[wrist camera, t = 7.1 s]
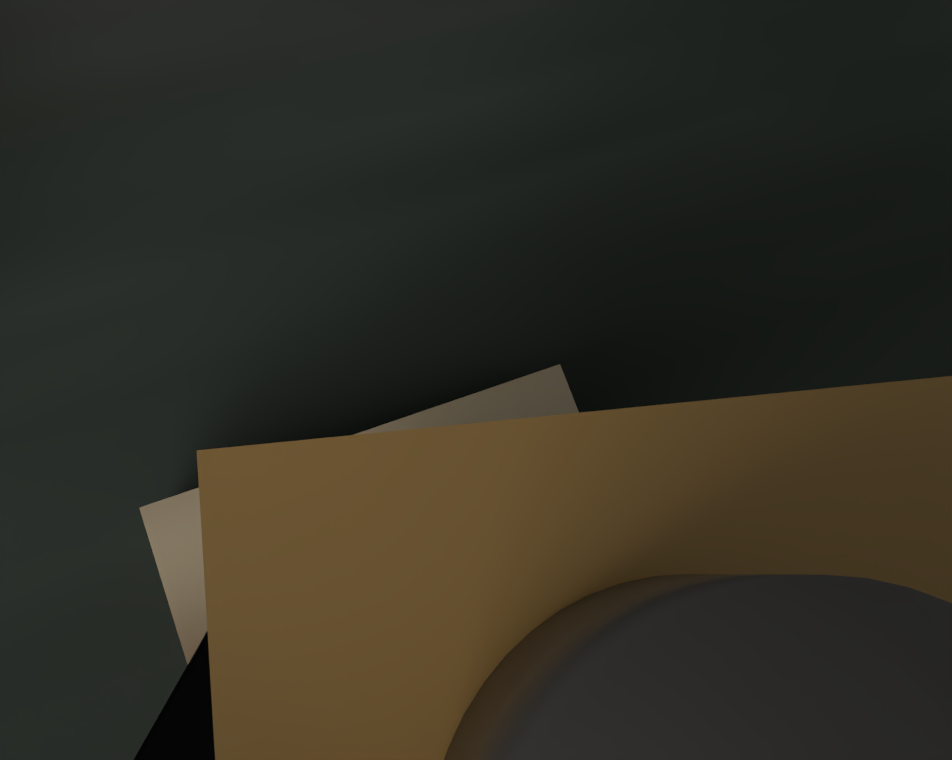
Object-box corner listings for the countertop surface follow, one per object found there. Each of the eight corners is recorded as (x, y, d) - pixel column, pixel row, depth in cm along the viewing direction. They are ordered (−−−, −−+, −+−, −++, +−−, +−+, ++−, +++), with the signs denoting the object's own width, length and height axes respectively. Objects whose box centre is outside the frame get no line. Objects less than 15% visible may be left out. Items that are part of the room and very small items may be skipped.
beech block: (666, 747, 20) (721, 778, 17) (294, 920, 18) (286, 986, 15) (529, 391, 22) (559, 364, 19) (168, 516, 20) (139, 507, 17)
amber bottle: (604, 787, 15) (1598, 1579, 3) (317, 838, 14) (218, 2196, 2) (564, 503, 16) (1210, 304, 4) (293, 535, 15) (136, 395, 3)
